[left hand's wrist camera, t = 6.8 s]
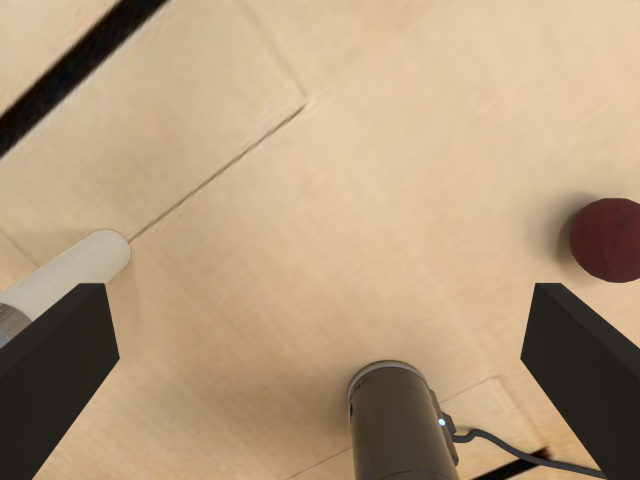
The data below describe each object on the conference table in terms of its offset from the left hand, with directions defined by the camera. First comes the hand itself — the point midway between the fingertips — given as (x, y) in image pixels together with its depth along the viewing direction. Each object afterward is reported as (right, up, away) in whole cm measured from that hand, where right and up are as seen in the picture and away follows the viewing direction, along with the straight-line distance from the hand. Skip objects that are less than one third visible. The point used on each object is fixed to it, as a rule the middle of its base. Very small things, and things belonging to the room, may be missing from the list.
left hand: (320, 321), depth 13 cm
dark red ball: (+27, +4, +28) cm, 39 cm away
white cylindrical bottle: (-21, +2, +29) cm, 36 cm away
